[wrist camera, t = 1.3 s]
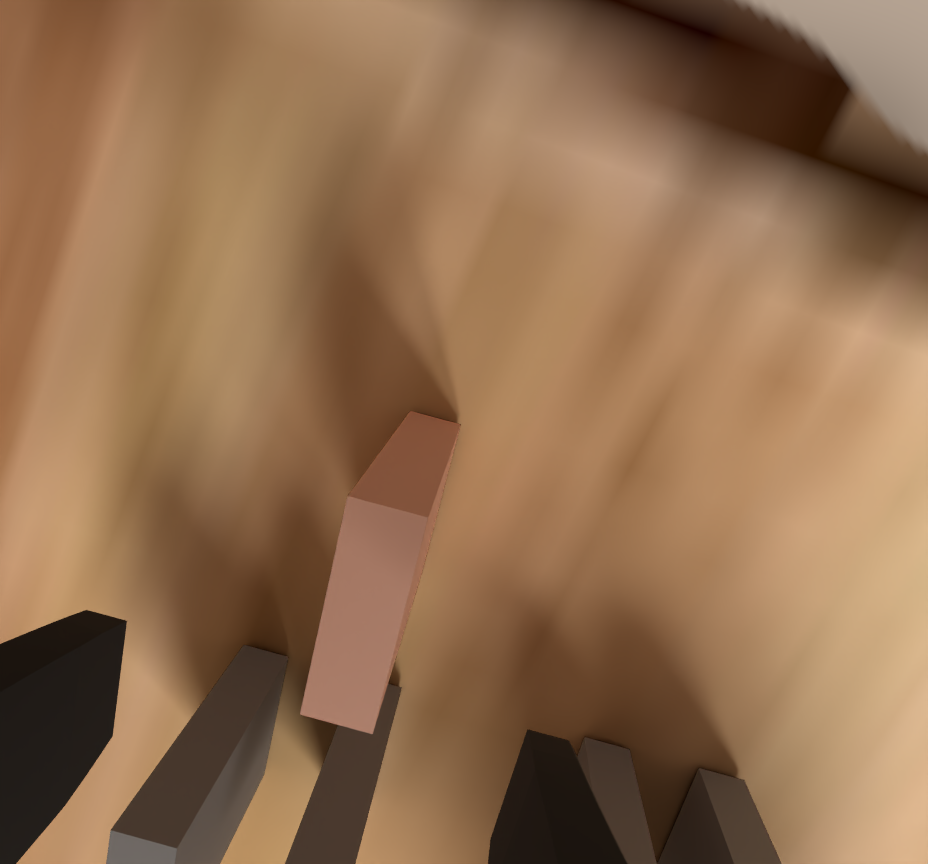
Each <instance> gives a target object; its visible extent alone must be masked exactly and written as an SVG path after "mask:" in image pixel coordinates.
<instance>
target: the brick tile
mask: <svg viewBox="0 0 928 864" xmlns="http://www.w3.org/2000/svg"><path fill="white" fill-rule="evenodd" d="M460 426H461V424H457V423H454V422H450V421H446V420H442V419H439V418H435V417H431V416H427V415H424V414H420V413H416V412H412V411H410V412H409V413H408V415H407V416H406V417H405V419H404V420H403V421H402V423H401V424H400V425H399V427H398V428H397V430H396V431H395V432H394V434H393V435H392V436H391V438H390V439H389V440H388V442H387V443H386V444H385V446H384V447H383V449H382V450H381V451H380V453H379V454H378V455H377V457H376V458H375V459H374V461H373V462H372V463H371V465H370V466H369V468H368V469H367V470H366V472H365V473H364V474H363V476H362V477H361V478H360V480H359V481H358V482H357V484H356V485H355V487H354V488H353V489H352V491H351V492H350V493H349V495H348V496H347V501H346V505H345V510H344V515H343V519H342V524H341V528H340V533H339V537H338V542H337V547H336V551H335V556H334V560H333V565H332V570H331V574H330V579H329V583H328V588H327V593H326V597H325V602H324V606H323V611H322V615H321V620H320V625H319V629H318V634H317V638H316V643H315V648H314V652H313V657H312V661H311V666H310V670H309V675H308V680H307V684H306V689H305V693H304V698H303V703H302V707H301V712H300V715H304V716H307V717H311V718H315V719H318V720H322V721H326V722H329V723H333V724H337V725H340V726H344V727H348V728H351V729H355V730H359V731H362V732H366V733H370V734H373V731H374V728H375V725H376V721H377V718H378V715H379V712H380V708H381V705H382V702H383V699H384V695H385V692H386V689H387V685H388V682H389V679H390V676H391V672H392V669H393V666H394V663H395V659H396V656H397V653H398V650H399V646H400V643H401V640H402V637H403V633H404V630H405V627H406V623H407V620H408V617H409V614H410V610H411V607H412V604H413V601H414V597H415V594H416V591H417V588H418V584H419V581H420V578H421V575H422V571H423V567H424V564H425V560H426V556H427V552H428V548H429V545H430V541H431V537H432V533H433V529H434V525H435V522H436V518H437V514H438V510H439V506H440V502H441V499H442V495H443V491H444V487H445V483H446V479H447V476H448V472H449V468H450V464H451V460H452V456H453V453H454V449H455V445H456V441H457V437H458V434H459V430H460Z"/></svg>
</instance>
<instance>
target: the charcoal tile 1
mask: <svg viewBox="0 0 928 864" xmlns="http://www.w3.org/2000/svg"><path fill="white" fill-rule="evenodd" d="M287 661H288V657H287V656H283V655H280V654H276V653H272V652H269V651H265V650H261V649H258V648H254V647H250V646H246V645H243V647H242V648H241V649H240V651H239V652H238V654H237V655H236V656H235V658H234V659H233V661H232V662H231V663H230V665H229V666H228V668H227V669H226V670H225V672H224V673H223V674H222V676H221V677H220V679H219V680H218V681H217V683H216V684H215V686H214V687H213V688H212V690H211V691H210V693H209V694H208V695H207V697H206V698H205V700H204V701H203V702H202V704H201V705H200V707H199V708H198V709H197V711H196V712H195V713H194V715H193V716H192V718H191V719H190V720H189V722H188V723H187V725H186V726H185V727H184V729H183V730H182V732H181V733H180V734H179V736H178V737H177V739H176V740H175V741H174V743H173V744H172V746H171V747H170V748H169V750H168V751H167V752H166V754H165V755H164V757H163V758H162V759H161V761H160V762H159V764H158V765H157V766H156V768H155V769H154V771H153V772H152V773H151V775H150V776H149V778H148V779H147V780H146V782H145V783H144V784H143V786H142V787H141V789H140V790H139V791H138V793H137V794H136V796H135V797H134V798H133V800H132V801H131V803H130V804H129V805H128V807H127V808H126V810H125V811H124V812H123V814H122V815H121V817H120V818H119V819H118V821H117V822H116V823H115V825H114V826H113V828H112V829H111V831H110V839H109V847H108V855H107V862H106V864H220V863H221V861H222V859H223V857H224V855H225V853H226V851H227V849H228V847H229V844H230V842H231V840H232V838H233V836H234V834H235V832H236V830H237V828H238V826H239V824H240V822H241V820H242V818H243V816H244V814H245V812H246V810H247V808H248V806H249V804H250V802H251V800H252V798H253V796H254V794H255V792H256V790H257V788H258V786H259V784H260V782H261V780H262V778H263V776H264V773H265V768H266V763H267V758H268V754H269V749H270V744H271V739H272V734H273V729H274V724H275V720H276V715H277V710H278V705H279V700H280V695H281V691H282V686H283V681H284V676H285V671H286V666H287Z"/></svg>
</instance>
